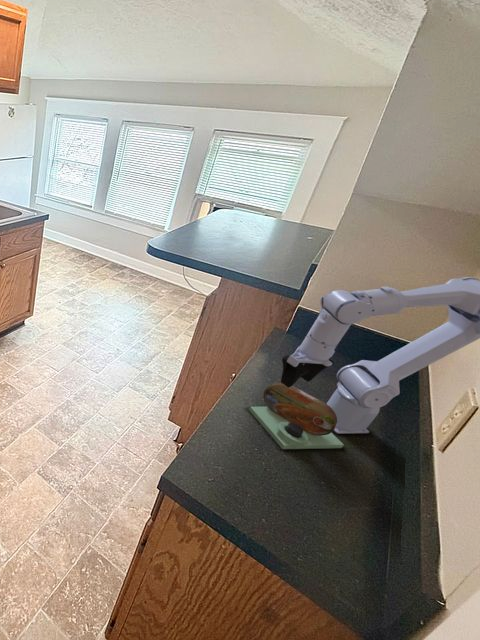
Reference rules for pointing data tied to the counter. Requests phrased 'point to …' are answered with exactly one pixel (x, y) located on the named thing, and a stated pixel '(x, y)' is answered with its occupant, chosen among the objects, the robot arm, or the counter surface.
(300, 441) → the pale green flat piece
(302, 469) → the counter surface
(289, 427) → the button
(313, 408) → the tin
